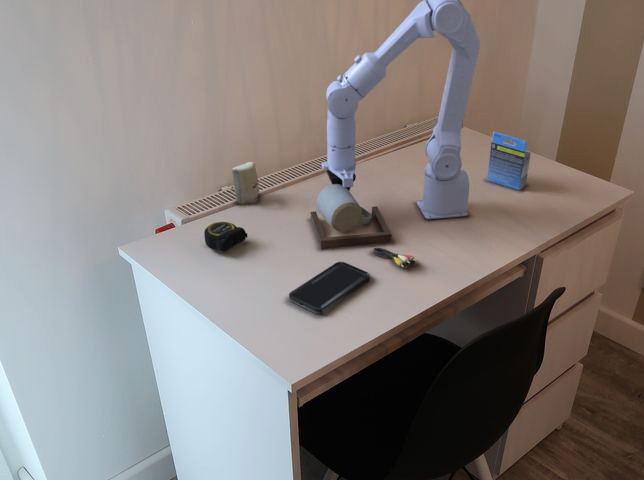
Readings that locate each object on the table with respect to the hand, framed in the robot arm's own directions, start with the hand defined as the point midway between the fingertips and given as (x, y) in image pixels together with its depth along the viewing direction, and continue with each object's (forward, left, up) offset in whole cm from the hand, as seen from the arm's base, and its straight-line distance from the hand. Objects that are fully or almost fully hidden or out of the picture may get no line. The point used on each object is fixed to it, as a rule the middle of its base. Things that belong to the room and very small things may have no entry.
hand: (341, 203), depth 154 cm
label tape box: (-41, -7, -2) cm, 42 cm away
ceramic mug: (0, +5, -2) cm, 6 cm away
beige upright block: (+19, -9, -2) cm, 21 cm away
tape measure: (+25, +10, -2) cm, 27 cm away
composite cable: (-7, +21, -2) cm, 22 cm away
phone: (+8, +29, -2) cm, 30 cm away
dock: (0, +8, -2) cm, 8 cm away
